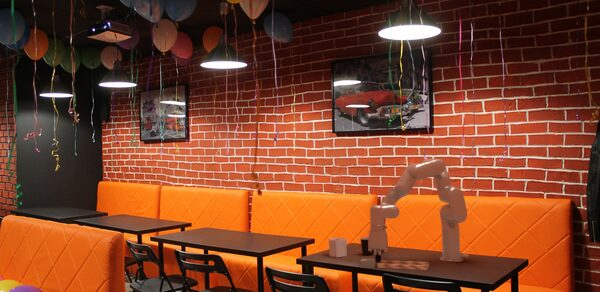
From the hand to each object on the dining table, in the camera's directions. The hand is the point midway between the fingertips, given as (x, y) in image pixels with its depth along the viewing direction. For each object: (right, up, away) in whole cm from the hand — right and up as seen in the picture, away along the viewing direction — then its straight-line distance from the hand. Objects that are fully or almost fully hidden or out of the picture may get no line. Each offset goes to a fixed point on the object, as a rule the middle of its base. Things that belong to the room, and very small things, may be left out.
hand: (378, 261), depth 287 cm
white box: (-19, -4, +34) cm, 39 cm away
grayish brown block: (-5, -3, +2) cm, 6 cm away
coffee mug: (0, -3, +34) cm, 34 cm away
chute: (+13, -2, -4) cm, 14 cm away
